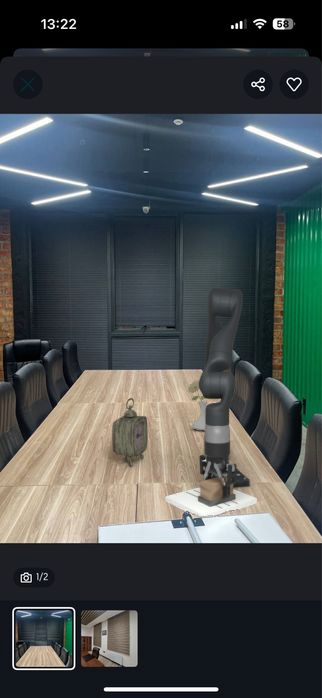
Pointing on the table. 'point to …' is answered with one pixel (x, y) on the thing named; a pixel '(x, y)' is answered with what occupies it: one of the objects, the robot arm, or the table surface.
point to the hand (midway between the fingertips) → (217, 493)
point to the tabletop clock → (130, 434)
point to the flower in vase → (200, 422)
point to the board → (190, 503)
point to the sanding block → (214, 492)
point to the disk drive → (238, 479)
